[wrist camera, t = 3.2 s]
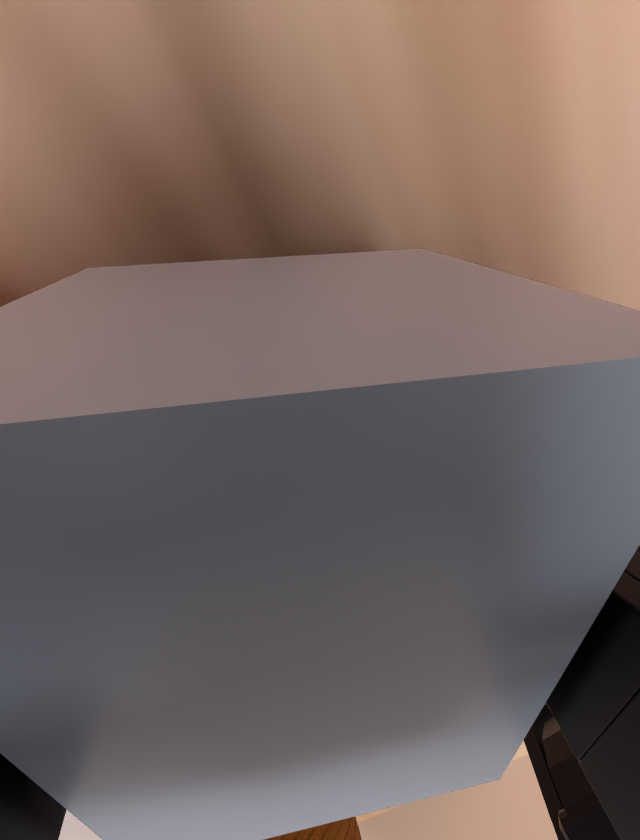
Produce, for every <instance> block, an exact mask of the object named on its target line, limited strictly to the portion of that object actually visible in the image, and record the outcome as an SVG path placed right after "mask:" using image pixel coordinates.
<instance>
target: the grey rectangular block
mask: <svg viewBox="0 0 640 840" xmlns="http://www.w3.org/2000/svg"><path fill="white" fill-rule="evenodd" d="M639 545H640V311H638V310H635V309H631V308H628V307H624V306H621V305H617V304H614V303H611V302H607V301H604V300H600V299H597V298H593V297H590V296H586V295H583V294H579V293H576V292H572V291H569V290H565V289H562V288H558V287H555V286H551V285H548V284H545V283H541V282H538V281H534V280H531V279H527V278H524V277H520V276H517V275H513V274H510V273H506V272H503V271H499V270H496V269H492V268H489V267H486V266H482V265H479V264H475V263H472V262H468V261H465V260H461V259H458V258H454V257H451V256H447V255H444V254H440V253H437V252H433V251H430V250H426V249H423V248H422V249H404V250H387V251H370V252H352V253H335V254H317V255H300V256H283V257H265V258H248V259H231V260H213V261H196V262H178V263H161V264H144V265H126V266H109V267H92V268H87V269H84V270H82V271H80V272H78V273H75V274H73V275H71V276H69V277H66V278H64V279H62V280H60V281H57V282H55V283H53V284H50V285H48V286H46V287H44V288H41V289H39V290H37V291H35V292H32V293H30V294H28V295H26V296H23V297H21V298H19V299H17V300H14V301H12V302H10V303H8V304H5V305H3V306H1V307H0V753H1V754H2V755H3V756H4V757H5V758H6V759H8V760H9V761H10V762H11V763H12V764H14V765H15V766H16V767H17V768H18V769H19V770H21V771H22V772H23V773H24V774H25V775H27V776H28V777H29V778H30V779H31V780H33V781H34V782H35V783H36V784H37V785H38V786H40V787H41V788H42V789H43V790H44V791H46V792H47V793H48V794H49V795H50V796H51V797H53V798H54V799H55V800H56V801H57V802H59V803H60V804H61V805H62V806H63V807H64V808H66V809H67V810H68V811H69V812H70V813H72V814H73V815H74V816H75V817H76V818H78V819H79V820H80V821H81V822H82V823H83V824H85V825H86V826H87V827H88V828H89V829H91V830H92V831H93V832H94V833H95V834H97V835H98V836H99V837H100V838H101V839H103V840H264V839H268V838H272V837H276V836H280V835H284V834H287V833H291V832H295V831H299V830H303V829H307V828H311V827H315V826H319V825H323V824H327V823H331V822H335V821H339V820H343V819H347V818H351V817H354V816H358V815H362V814H366V813H370V812H374V811H378V810H382V809H386V808H390V807H394V806H398V805H402V804H406V803H410V802H413V801H417V800H422V799H425V798H429V797H433V796H437V795H441V794H445V793H449V792H453V791H457V790H461V789H465V788H468V787H473V786H476V785H481V784H485V783H488V782H492V781H496V780H499V779H500V778H501V777H502V775H503V773H504V772H505V770H506V768H507V767H508V765H509V763H510V762H511V760H512V758H513V757H514V755H515V753H516V752H517V750H518V748H519V747H520V745H521V743H522V741H523V740H524V738H525V736H526V735H527V733H528V731H529V730H530V728H531V726H532V725H533V723H534V721H535V720H536V718H537V716H538V715H539V713H540V711H541V710H542V708H543V706H544V705H545V703H546V701H547V699H548V698H549V696H550V694H551V693H552V691H553V689H554V688H555V686H556V684H557V683H558V681H559V679H560V678H561V676H562V674H563V673H564V671H565V669H566V668H567V666H568V664H569V662H570V661H571V659H572V657H573V656H574V654H575V652H576V651H577V649H578V647H579V646H580V644H581V642H582V641H583V639H584V637H585V636H586V634H587V632H588V631H589V629H590V627H591V626H592V624H593V622H594V620H595V619H596V617H597V615H598V614H599V612H600V610H601V609H602V607H603V605H604V604H605V602H606V600H607V599H608V597H609V595H610V594H611V592H612V590H613V589H614V587H615V585H616V583H617V582H618V580H619V578H620V577H621V575H622V573H623V572H624V570H625V568H626V567H627V565H628V563H629V562H630V560H631V558H632V557H633V555H634V553H635V552H636V550H637V548H638V547H639Z"/></svg>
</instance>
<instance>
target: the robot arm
mask: <svg viewBox="0 0 640 840" xmlns="http://www.w3.org/2000/svg"><path fill="white" fill-rule="evenodd" d="M524 742H525V745H526V748H527V751H528V754H529V756H530V759H531V762H532V765H533V768H534V771H535V774H536V777H537V780H538V782H539V786H540V789H541V791H542V795H543V797H544V800H545V803H546V806H547V809H548V812H549V815H550V818H551V820H552V823H553V825H554V828H555V832H556V834H557V837H558V840H640V545H639V547H638V548H637V550H636V552H635V553H634V555H633V557H632V558H631V560H630V562H629V563H628V565H627V567H626V568H625V570H624V572H623V573H622V575H621V577H620V578H619V580H618V582H617V583H616V585H615V587H614V589H613V590H612V592H611V594H610V595H609V597H608V599H607V600H606V602H605V604H604V605H603V607H602V609H601V610H600V612H599V614H598V615H597V617H596V619H595V620H594V622H593V624H592V626H591V627H590V629H589V631H588V632H587V634H586V636H585V637H584V639H583V641H582V642H581V644H580V646H579V647H578V649H577V651H576V652H575V654H574V656H573V657H572V659H571V661H570V662H569V664H568V666H567V668H566V669H565V671H564V673H563V674H562V676H561V678H560V679H559V681H558V683H557V684H556V686H555V688H554V689H553V691H552V693H551V694H550V696H549V698H548V699H547V701H546V703H545V705H544V706H543V708H542V710H541V711H540V713H539V715H538V716H537V718H536V720H535V721H534V723H533V725H532V726H531V728H530V730H529V731H528V733H527V735H526V736H525V738H524ZM65 813H66V808H64V807H63V806H62V805H61V804H60V803H59V802H57V801H56V800H55V799H54V798H53V797H51V796H50V795H49V794H48V793H47V792H46V791H44V790H43V789H42V788H41V787H40V786H38V785H37V784H36V783H35V782H34V781H33V780H31V779H30V778H29V777H28V776H27V775H25V774H24V773H23V772H22V771H21V770H19V769H18V768H17V767H16V766H15V765H14V764H12V763H11V762H10V761H9V760H8V759H6V758H5V757H4V756H3V755H2V754H1V753H0V840H58V838H59V835H60V831H61V827H62V824H63V820H64V816H65Z"/></svg>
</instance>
